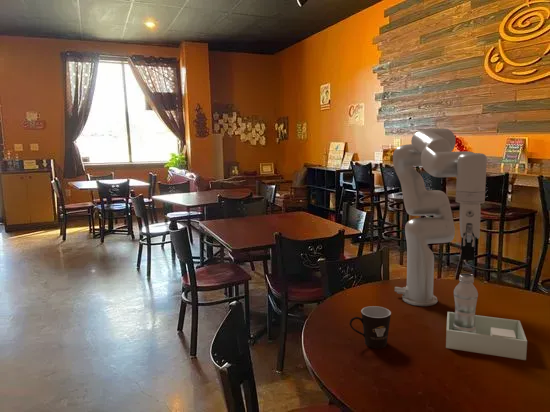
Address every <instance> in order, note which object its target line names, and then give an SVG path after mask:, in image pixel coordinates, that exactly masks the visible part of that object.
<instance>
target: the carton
mask: <svg viewBox="0 0 550 412" xmlns="http://www.w3.org/2000/svg"><path fill="white" fill-rule="evenodd" d="M490 335H492V336H499V337H506V338H513V339H516V336H515V332H514V330H508V329H500V328H492V327H491V331H490Z"/></svg>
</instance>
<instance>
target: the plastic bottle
mask: <svg viewBox="0 0 550 412" xmlns="http://www.w3.org/2000/svg"><path fill="white" fill-rule="evenodd" d="M458 281H459V283H457V285H456V286H455V287H454V288H453V299H454V313H455V319H454V324H453V329H452V330H455V331H463V332H470V333H477V329H476V323H475V315H476V308H477V302H478V298H479V293H478V289H477V288H476V287H475V285H474V282H475V281H474V274H471V273H464V272H463V273H460V274H459V278H458Z"/></svg>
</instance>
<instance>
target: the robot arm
mask: <svg viewBox="0 0 550 412" xmlns="http://www.w3.org/2000/svg"><path fill="white" fill-rule="evenodd" d="M410 142H411V144H402V145H400V146H398V147H396V148H395V149H394V151H393V154H392V163H393V168H394V171H395V174H396V176H397V178H398V180H399V183H400V186H401V193H402V200H403V204H404V209H405V211H406V213H407V215H409V216H414V217H415V216H416V218H412V219H410V220H408V221H407V222H406V223H405V227H404V233H405V234H404V235H405V239H406V259H407V260H406V285H405V286H403V287H400V286H394V292H395V293H396V294H399V295H401V298H402V301H403V302H405V303H406V304H408V305H411V306H418V307H431V306H434V305H436V304H437V303H438V297H437V296H436V295H434V275H435V273H434V272H435V270H434V269H435V256H434V252H433V251H432V249H430V247H429V244H445V243H451V242H452V241H453V240H454V238H455V237H456V236H455V235H456V229H455V223H454V217H453V213H452V208H451V203H450V199H449V196H448V195H447V194H446V193H445V192H444V191H442V190H438V189H437V190H436V189H433V190H430V189H429V190H427V188H426V186H425V180H424V178H423V176H422V175H421V174H420V173H419V172H418V171H417V170H416V169H415V168H414V167H421V168H423V170H424V171H425V172H426V173H427V174H429V175H430V176H432V177H435V178H452V177H453V178H456V182H455V185H456V187H455V203H457V204H458V203H459V232H460V233H459V234H460V238H461V241H460V250H461V260H463V261H474V260H475V250H476V249H475V248H476V247H475V238H476V239H477V240H478V239H479V238H481V237H480V236H481V234H480V233H481V232H480V231H481V213H482V212H481V204H482V205H483V204H485V199H486V183H487V165H488V164H487V163H488V158H487V155H486V154H484V153H482V152H481V153H480V152H473V151H469V150H468V151H464V150H463V151H453V150H454V148H455V146H456V136H455V134H454V132H453V130H451V129H448V128H426V129H420V130H418V131H416V132H414V134H413V135H412V137H411V141H410ZM418 216H421V217H418ZM423 216H424V217H423ZM425 216H434V217H425Z"/></svg>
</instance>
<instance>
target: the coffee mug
mask: <svg viewBox="0 0 550 412" xmlns="http://www.w3.org/2000/svg"><path fill="white" fill-rule="evenodd" d="M360 312H361V317H359V316H354V317H352V318H351V319H350V320H349V326H350V328H351V329H352V330H353V332H355V333H357V334H359V335H361V336H363V338H364V344H365V346H367V347H369V348H371V349H383V348H386V347H387V345H388V340H389V339H388V337H389V331H390V323H391V316H392V311H391V310H389V309H388V308H386V307H383V306H378V305H377V306H376V305H375V306H374V305H372V306H370V305H369V306H365V307H363V308H362V309H361V310H360ZM355 320H359V321H360V322H361V324H362V328H363V330H362V331H363V332H361V331H359V330H357V329H356V328H354V326H353V325H352V323H353V322H354V321H355Z"/></svg>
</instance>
